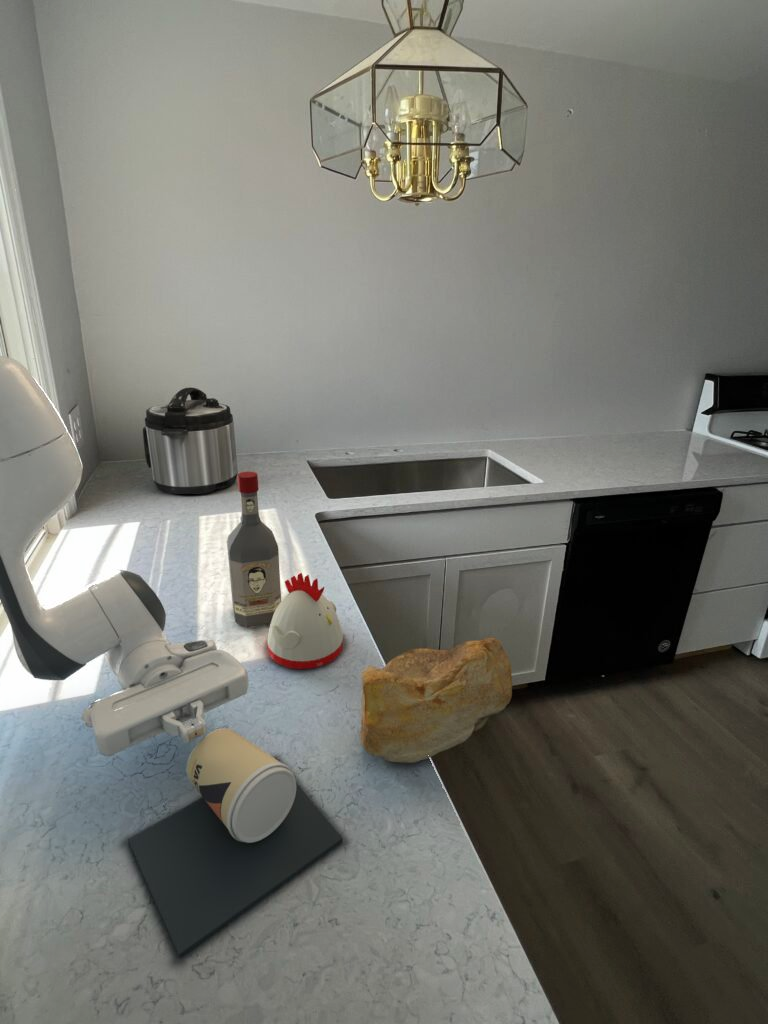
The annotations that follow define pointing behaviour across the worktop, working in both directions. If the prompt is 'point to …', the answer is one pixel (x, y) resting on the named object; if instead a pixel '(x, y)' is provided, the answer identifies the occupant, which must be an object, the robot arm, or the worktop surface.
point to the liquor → (253, 561)
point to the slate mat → (223, 865)
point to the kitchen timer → (304, 627)
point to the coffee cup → (241, 784)
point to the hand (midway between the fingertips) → (196, 734)
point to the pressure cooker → (190, 444)
